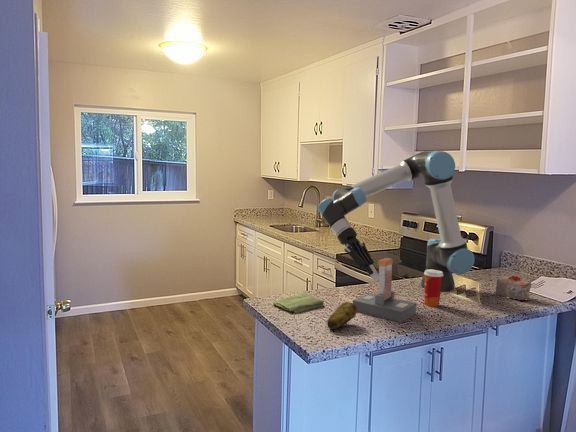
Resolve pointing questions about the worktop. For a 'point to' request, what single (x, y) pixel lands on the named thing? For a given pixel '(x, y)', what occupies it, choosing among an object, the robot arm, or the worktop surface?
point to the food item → (513, 287)
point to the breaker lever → (385, 277)
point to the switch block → (385, 307)
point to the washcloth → (299, 303)
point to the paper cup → (432, 287)
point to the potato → (342, 315)
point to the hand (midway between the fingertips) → (378, 280)
